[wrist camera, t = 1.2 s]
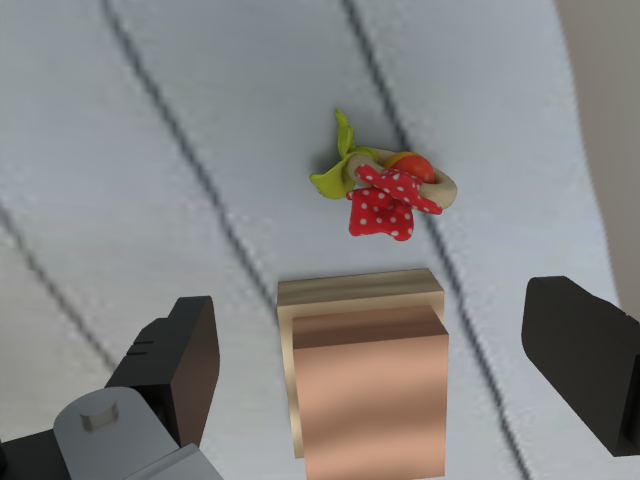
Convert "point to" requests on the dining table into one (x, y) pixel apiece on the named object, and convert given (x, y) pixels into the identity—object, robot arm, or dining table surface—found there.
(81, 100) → the dining table surface
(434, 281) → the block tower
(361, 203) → the bird rattle
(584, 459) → the dining table surface
